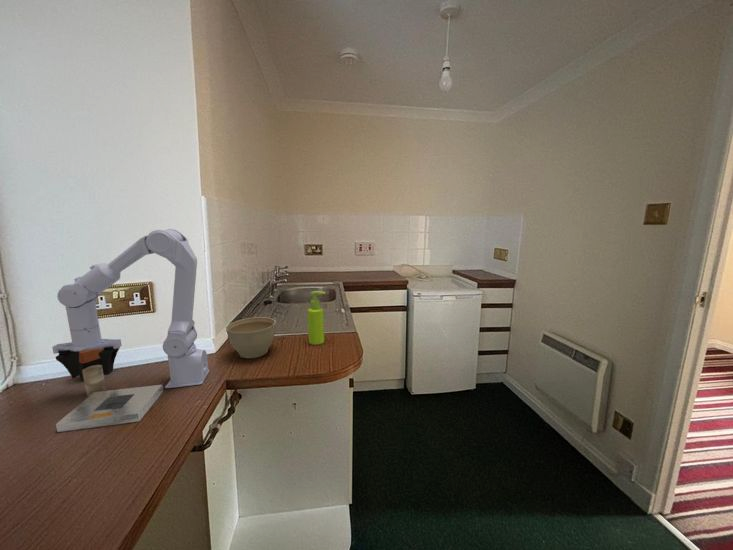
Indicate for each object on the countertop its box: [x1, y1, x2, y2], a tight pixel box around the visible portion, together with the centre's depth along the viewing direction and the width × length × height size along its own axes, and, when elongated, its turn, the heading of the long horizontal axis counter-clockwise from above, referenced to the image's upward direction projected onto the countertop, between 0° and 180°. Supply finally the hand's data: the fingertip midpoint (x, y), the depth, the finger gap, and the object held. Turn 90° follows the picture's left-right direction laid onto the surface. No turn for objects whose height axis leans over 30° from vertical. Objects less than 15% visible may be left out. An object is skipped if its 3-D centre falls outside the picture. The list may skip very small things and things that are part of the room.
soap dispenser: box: [307, 290, 326, 346], centre depth 114 cm, size 6×7×20 cm
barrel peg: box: [82, 365, 107, 397], centre depth 82 cm, size 4×4×7 cm
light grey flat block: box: [55, 384, 164, 433], centre depth 74 cm, size 16×13×2 cm
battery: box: [79, 349, 106, 380], centre depth 91 cm, size 4×7×10 cm, turn 153°
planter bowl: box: [225, 316, 277, 359], centre depth 105 cm, size 16×16×11 cm
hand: (93, 374), depth 81 cm, fingers open, 7 cm apart
